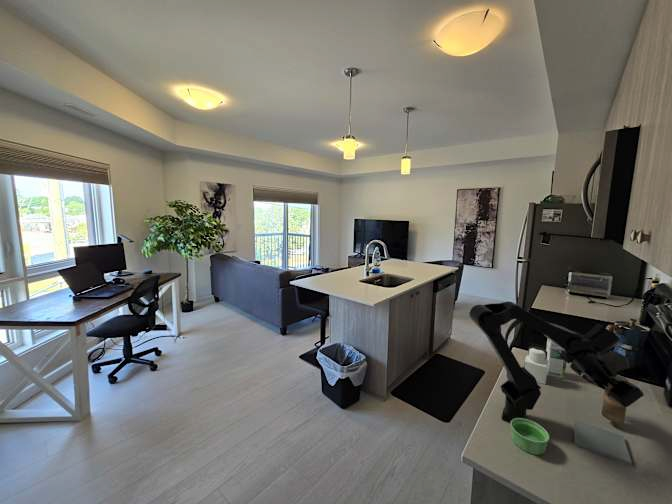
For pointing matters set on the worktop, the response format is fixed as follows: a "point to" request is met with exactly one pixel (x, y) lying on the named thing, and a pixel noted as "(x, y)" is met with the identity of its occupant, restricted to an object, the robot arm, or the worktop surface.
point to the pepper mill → (613, 405)
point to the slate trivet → (601, 442)
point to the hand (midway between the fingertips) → (620, 397)
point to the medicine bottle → (537, 363)
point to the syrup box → (555, 360)
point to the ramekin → (529, 436)
